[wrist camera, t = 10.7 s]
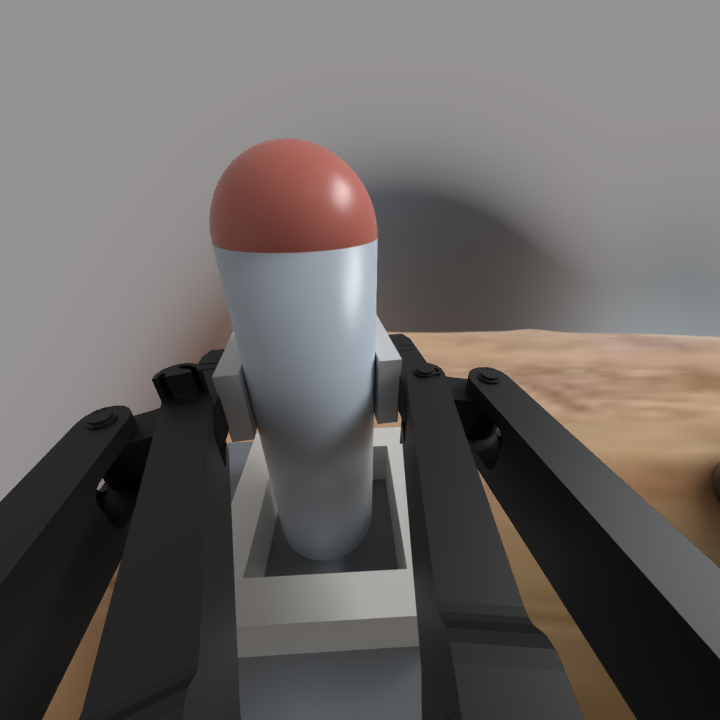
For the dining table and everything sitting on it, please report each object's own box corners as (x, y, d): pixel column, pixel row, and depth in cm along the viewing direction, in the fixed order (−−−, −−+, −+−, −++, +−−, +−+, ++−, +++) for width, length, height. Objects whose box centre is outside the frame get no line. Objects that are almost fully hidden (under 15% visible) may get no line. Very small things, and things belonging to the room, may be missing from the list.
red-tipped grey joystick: (289, 476, 17) (226, 149, 9) (368, 473, 17) (371, 148, 9) (273, 563, 13) (139, 123, 5) (375, 558, 13) (391, 122, 5)
